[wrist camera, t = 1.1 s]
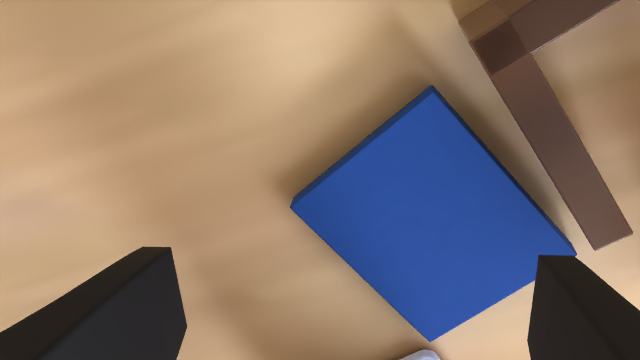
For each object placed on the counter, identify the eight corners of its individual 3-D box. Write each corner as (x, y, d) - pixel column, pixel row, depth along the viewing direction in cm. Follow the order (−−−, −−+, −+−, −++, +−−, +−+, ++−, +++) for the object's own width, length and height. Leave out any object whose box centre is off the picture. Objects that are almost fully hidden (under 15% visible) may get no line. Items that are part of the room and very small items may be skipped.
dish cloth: (571, 243, 20) (578, 255, 19) (428, 329, 23) (429, 343, 22) (431, 83, 18) (433, 91, 18) (292, 197, 21) (288, 208, 20)
